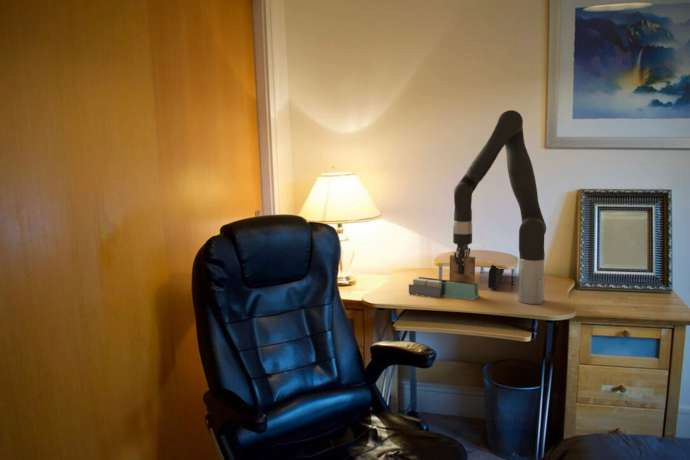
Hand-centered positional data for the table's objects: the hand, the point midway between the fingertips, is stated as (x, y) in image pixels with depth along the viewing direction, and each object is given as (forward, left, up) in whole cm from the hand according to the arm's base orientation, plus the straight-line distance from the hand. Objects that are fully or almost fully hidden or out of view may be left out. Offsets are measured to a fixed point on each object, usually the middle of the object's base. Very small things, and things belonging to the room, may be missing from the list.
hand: (462, 273), depth 212 cm
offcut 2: (+11, +3, -9) cm, 14 cm away
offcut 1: (+17, +3, -9) cm, 19 cm away
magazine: (-6, -29, -10) cm, 32 cm away
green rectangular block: (0, 0, -10) cm, 10 cm away
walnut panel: (0, 0, -7) cm, 7 cm away
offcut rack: (+14, +2, -10) cm, 17 cm away
